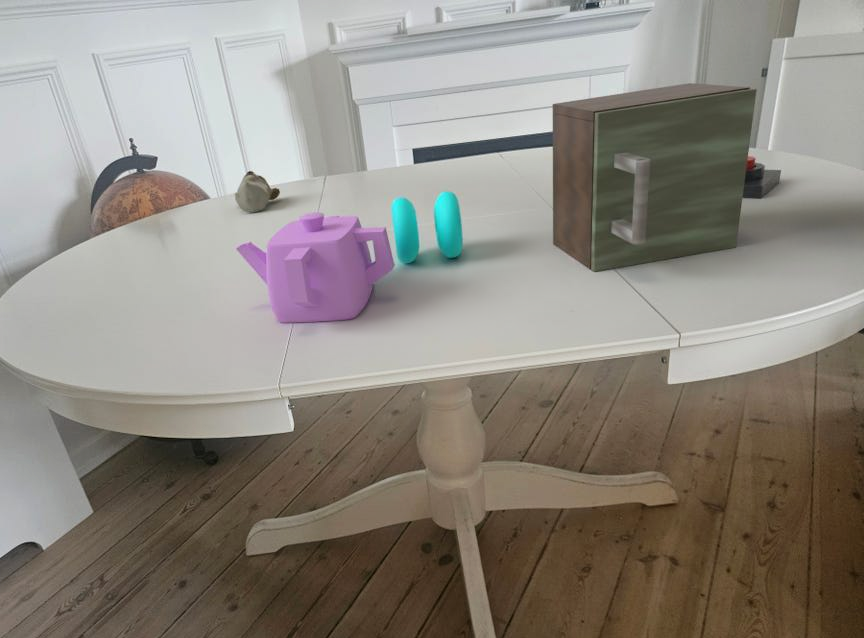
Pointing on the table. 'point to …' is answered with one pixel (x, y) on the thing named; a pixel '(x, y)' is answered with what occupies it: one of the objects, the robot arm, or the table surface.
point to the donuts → (445, 227)
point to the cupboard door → (669, 178)
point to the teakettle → (320, 267)
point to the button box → (759, 181)
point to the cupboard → (578, 158)
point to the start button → (750, 162)
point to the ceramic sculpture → (254, 193)
